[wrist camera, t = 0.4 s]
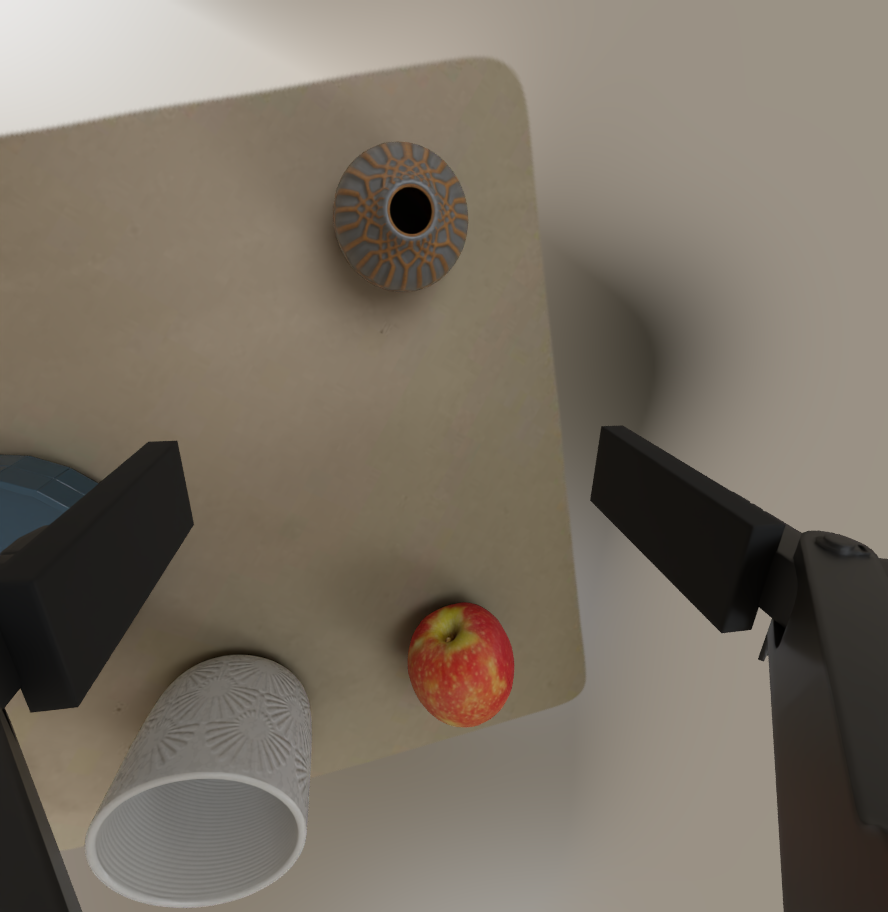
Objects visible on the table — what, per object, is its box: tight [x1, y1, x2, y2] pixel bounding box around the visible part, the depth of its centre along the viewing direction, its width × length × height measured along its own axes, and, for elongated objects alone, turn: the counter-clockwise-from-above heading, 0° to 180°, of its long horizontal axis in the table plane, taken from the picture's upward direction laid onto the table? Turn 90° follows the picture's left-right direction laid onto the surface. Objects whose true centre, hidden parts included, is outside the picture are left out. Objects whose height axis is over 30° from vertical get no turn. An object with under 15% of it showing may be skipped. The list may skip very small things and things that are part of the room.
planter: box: [85, 655, 312, 908], centre depth 34 cm, size 12×12×11 cm
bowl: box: [0, 455, 99, 555], centre depth 30 cm, size 14×14×4 cm
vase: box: [333, 142, 468, 292], centre depth 24 cm, size 7×7×9 cm
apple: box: [408, 602, 514, 727], centre depth 36 cm, size 8×8×8 cm
